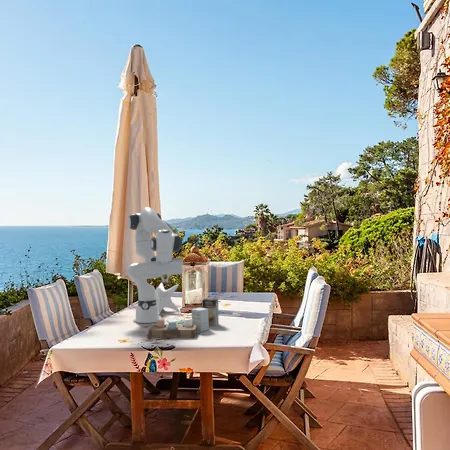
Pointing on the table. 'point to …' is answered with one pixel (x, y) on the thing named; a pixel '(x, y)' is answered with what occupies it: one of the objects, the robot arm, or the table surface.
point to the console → (173, 332)
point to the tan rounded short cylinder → (160, 323)
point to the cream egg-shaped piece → (187, 322)
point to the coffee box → (211, 310)
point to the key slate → (172, 325)
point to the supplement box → (200, 318)
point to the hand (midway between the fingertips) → (165, 282)
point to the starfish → (165, 297)
